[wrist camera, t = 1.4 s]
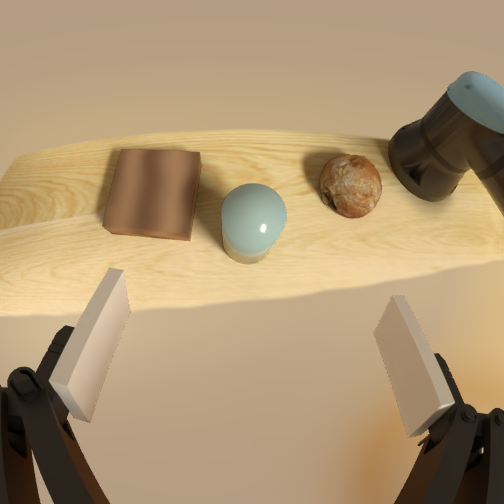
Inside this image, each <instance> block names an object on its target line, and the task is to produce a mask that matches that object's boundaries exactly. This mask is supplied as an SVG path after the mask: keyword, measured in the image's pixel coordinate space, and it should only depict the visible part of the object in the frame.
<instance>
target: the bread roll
mask: <svg viewBox="0 0 504 504" xmlns="http://www.w3.org/2000/svg"><path fill="white" fill-rule="evenodd" d="M319 187H320V190H321V193H322V197H321V198H322V200H323V202H324V203H325V204H326V205H329V206H330V207H331V208H332V209H334V210H335V211H336V212H338V213H339V214H341V215H343V216H344V217H346V218H360V217H363V216H365V215H367V214H368V213H369V212H370V211H371V210H372V209H373V208H374V207H375V206H376V204H377V202H378V201H379V198H380V195H381V192H382V185H381V179H380V176H379V173H378V171H377V170H376V168H375V167H374V165H373V164H372V163H371V162H370V161H369V160H368V159H367V158H366V157H365V156H359V155H349V154H342V155H340V156H338V157H335V158H333V159H331V160H330V161H328V162H327V163H326V164H325V166H324V168H323V171H322V173H321V178H320V185H319Z"/></svg>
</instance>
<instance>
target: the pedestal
mask: <svg viewBox="0 0 504 504" xmlns="http://www.w3.org/2000/svg"><path fill="white" fill-rule="evenodd" d="M201 166H202V165H201V158H200V152H190V151H171V150H141V149H121V152H120V156H119V159H118V163H117V166H116V170H115V174H114V177H113V181H112V185H111V189H110V193H109V197H108V202H107V206H106V211H105V215H104V220H103V225H102V226H103V227H104V228H105V229H107V230H108V231H109V232H110V233H112V234H118V235H129V236H140V237H151V238H162V239H173V240H184V241H190V239H191V231H192V224H193V217H194V210H195V203H196V197H197V190H198V184H199V178H200V172H201Z"/></svg>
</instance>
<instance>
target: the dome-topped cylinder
mask: <svg viewBox="0 0 504 504" xmlns="http://www.w3.org/2000/svg"><path fill="white" fill-rule="evenodd" d="M286 219H287V212H286V207H285V204H284V202H283V200H282V198H281V197H280V196H279V195H278V194H277V193H276V192H275V191H274V190H273V189H271V188H269V187H267V186H265V185H261V184H254V183H252V184H245V185H241V186H239V187H237V188H235V189H234V190H232V191H231V192H230V193H229V194H228V195H227V197H226V198H225V200H224V202H223V205H222V209H221V221H222V238H223V246H224V249H225V251H226V253H227V254H228V255H229V256H230V257H231V258H232V259H233V260H235V261H236V262H239V263H242V264H254V263H257V262H259V261H261V260H263V259H264V258H265V257H266V256H267V255H268V254H269V252H270V250H271V249H272V247H273V245H274V244H275V242H276V240H277V239H278V237H279V235H280V234H281V232H282V230H283V229H284V226H285V224H286Z"/></svg>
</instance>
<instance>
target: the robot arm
mask: <svg viewBox="0 0 504 504" xmlns="http://www.w3.org/2000/svg"><path fill="white" fill-rule="evenodd" d="M389 157H390V162H391V165H392V167H393V169H394V171H395V173H396V175H397V177H398V178H399V180H400V181H401V182H402V183H403V185H404V186H405V187H406V188H407V189H408V190H409V191H410V192H412V193H413V194H414V195H416V196H418V197H419V198H421V199H424V200H427V201H433V202H434V201H440V200H442V199H444V198H446V197H447V196H449V195H450V194H451V193H452V192H453V191H454V190H455V188H456V187H457V184H458V182H459V181H460V179H461V178H462V177H463V175H464V173H465V172H466V171H468V170H469V169H472V170H473V171H474V172H475V174H476V175H477V176H478V178H479V179H480V181H481V182H482V184H483V185H484V186H485V188H486V189H487V191H488V192H489V194H490V195H491V197H492V198H493V200H494V202H495V203H496V205H497V206H498V208H499V210H500V211H501V213H502V214H503V216H504V88H503V87H502V86H501V85H499V84H498V83H497V82H496V81H494V80H493V79H491V78H490V77H488V76H486V75H483V74H481V73H478V72H473V71H471V72H465V73H463V74H462V75H461V76H460V77H459V78H458V79H457V80H456V81H455V82H454V83H451V84H450V85H449V86H448V88H447V91H446V92H445V94H443V96H442V97H441V98H440V99H439V100H438V101H437V103H435V104H434V106H433V107H432V108H431V109H430V110H429V111H428V112H427V114H426V115H425V116H424V117H423V118H422V119H419V120H417V121H415V122H412V123H411V124H408V125H405V126H403V127H402V128H400V129H399V130H398V131H397V132H396V134H395V135H394V136H393V137H392V139H391V141H390V144H389ZM130 313H131V311H130V305H129V300H128V294H127V288H126V281H125V275H124V270H121V269H113V268H109V269H108V271H107V273H106V274H105V276H104V278H103V279H102V281H101V283H100V284H99V286H98V288H97V289H96V291H95V293H94V295H93V296H92V298H91V300H90V301H89V303H88V305H87V307H86V309H85V310H84V312H83V314H82V316H81V318H80V319H79V321H78V323H77V325H76V327H70V326H64V327H63V328H62V329H61V330H59V331H58V332H57V333H56V335H55V337H54V339H53V340H52V344H51V345H50V346H49V348H48V351H47V352H46V354H45V355H44V357H43V359H42V361H41V363H40V365H39V367H38V369H37V371H36V373H35V372H34V371H33V370H32V369H31V368H28V367H19V368H17V369H15V370H14V371H13V372H12V373H11V374H10V375H9V378H8V380H7V386H8V387H6V388H5V387H1V385H0V504H41V503H40V499H39V494H38V489H37V484H36V478H35V473H34V465H33V458H32V451H33V454H34V457H35V460H36V462H37V465H38V467H39V470H40V473H41V475H42V478H43V480H44V482H45V485H46V487H47V489H48V491H49V494H50V496H51V498H52V500H53V502H54V504H110V503H109V501H108V499H107V498H106V496H105V495H104V493H103V491H102V489H101V487H100V486H99V484H98V482H97V480H96V478H95V476H94V475H93V473H92V471H91V469H90V467H89V465H88V463H87V462H86V459H85V457H84V455H83V453H82V451H81V449H80V447H79V445H78V442H77V440H76V438H75V436H74V433H73V431H72V429H71V426H70V424H69V422H68V420H67V416H68V413H69V412H70V413H71V415H72V416H73V418H76V419H79V420H82V421H86V422H89V423H90V422H91V418H92V415H93V412H94V409H95V406H96V403H97V400H98V397H99V394H100V392H101V389H102V386H103V383H104V380H105V377H106V374H107V372H108V369H109V366H110V364H111V361H112V358H113V356H114V353H115V351H116V348H117V345H118V343H119V340H120V338H121V335H122V333H123V330H124V328H125V325H126V323H127V321H128V318H129V316H130ZM374 336H375V339H376V342H377V344H378V347H379V350H380V353H381V356H382V358H383V361H384V364H385V367H386V370H387V373H388V376H389V379H390V382H391V385H392V388H393V391H394V394H395V397H396V401H397V404H398V407H399V411H400V414H401V417H402V420H403V424H404V427H405V431H406V435H407V437H413V436H418V435H421V434H422V433H424V432H425V431H426V430H427V429H428V430H429V433H430V434H429V435H428V436H426V437H425V438H424V439H423V440H422V441H420V442H419V444H418V446H420V445H421V444H423V443H424V444H423V446H422V449H421V451H420V454H419V455H418V458H417V460H416V462H415V464H414V466H413V468H412V470H411V472H410V475H409V477H408V479H407V480H406V483H405V484H404V487H403V488H402V490H401V492H400V494H399V496H398V497H397V499H396V501H395V503H394V504H504V411H503V410H502V409H500V408H495V409H493V410H492V411H491V412H490V413H489V414H483V413H477V411H476V410H475V408H474V407H472V406H471V405H468V404H465V403H464V402H463V399H462V397H461V395H460V392H459V390H458V388H457V385H456V383H455V381H454V379H453V378H452V374H451V372H450V371H449V368H448V366H447V364H446V362H445V360H444V359H443V358H442V357H441V356H440V354H439V353H436V354H434V353H433V351H432V349H431V347H430V345H429V343H428V341H427V339H426V337H425V335H424V333H423V331H422V329H421V327H420V325H419V323H418V321H417V319H416V317H415V315H414V313H413V311H412V309H411V308H410V306H409V304H408V302H407V300H406V298H405V297H404V296H397V295H396V296H395V295H392V297H391V299H390V301H389V303H388V305H387V307H386V309H385V311H384V313H383V315H382V317H381V319H380V321H379V323H378V325H377V327H376V329H375V331H374ZM483 447H484V451H483V453H482V452H481V450H482V448H483ZM31 449H32V450H31Z"/></svg>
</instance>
